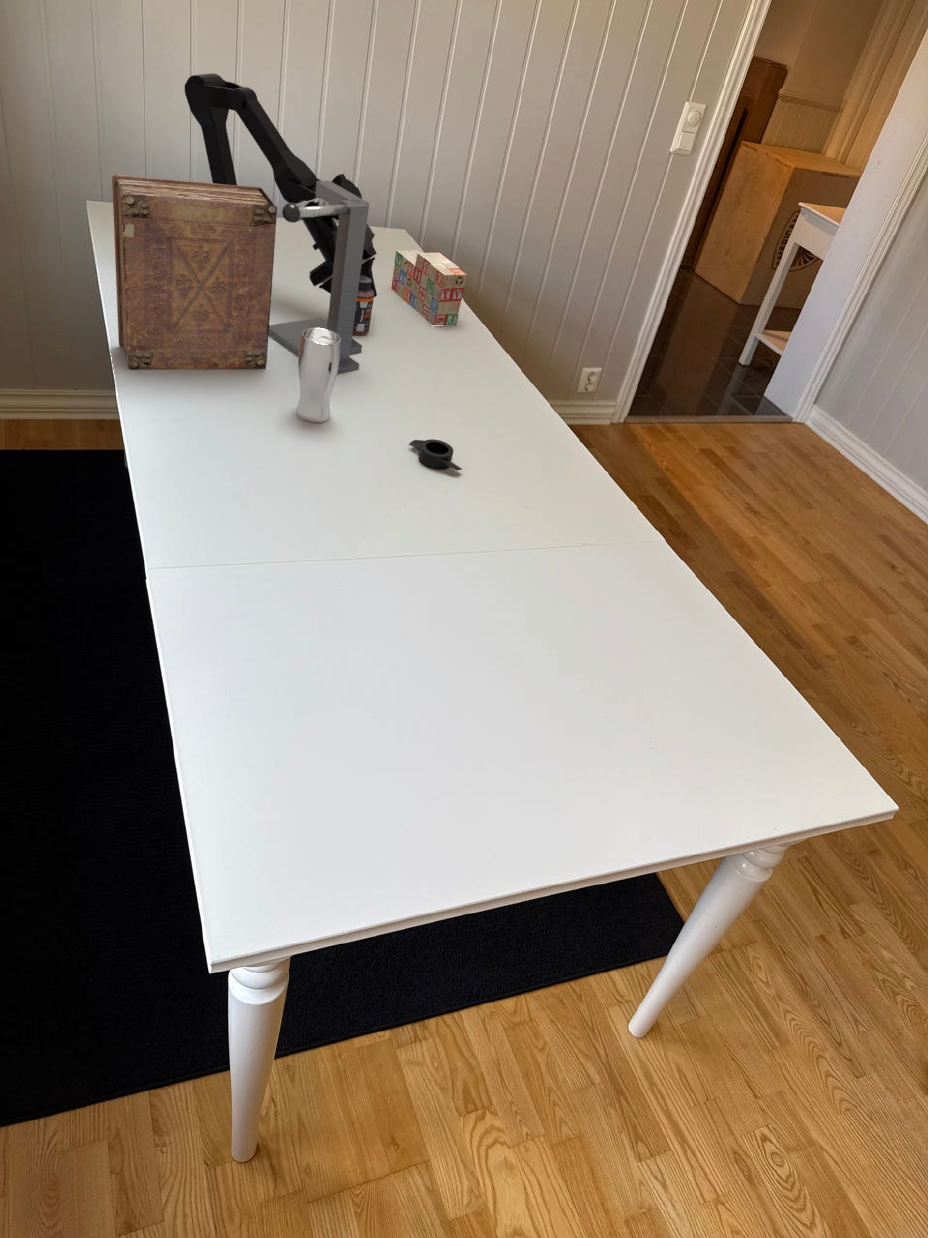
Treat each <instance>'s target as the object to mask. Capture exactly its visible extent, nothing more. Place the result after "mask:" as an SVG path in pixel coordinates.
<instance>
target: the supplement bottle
mask: <svg viewBox="0 0 928 1238" xmlns="http://www.w3.org/2000/svg"><path fill="white" fill-rule="evenodd" d="M374 298H375V297H374V292H373V290H372V289H371V279H370V278H368V277H366V276H362V275H360V279H359V287H358V295H357V303H356V311H355V318H354V326H353V334H352V335H355V336H364V335H367V334H368V333H369V332H370V327H371V326H370V325H371V319H372V313H373V312H372V311H373V307H374Z"/></svg>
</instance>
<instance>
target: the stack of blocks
mask: <svg viewBox="0 0 928 1238" xmlns="http://www.w3.org/2000/svg"><path fill="white" fill-rule="evenodd" d="M467 276H468V274H467V273H465V272H464V271H463V270H462V269H460V267H459V266H458V265H456V263H454V262H452V261H451V260H450V259H449V258H447V257H446V256H444V255H443V254H441V252H421V251H419V250H412V249H411V250H396V251H395V257H394V265H393V274H392V280H391V290H393V291H394V292H395V293H396V294H397V295H398V296H399V297H400V298H401V299H402V300H404V301H405V303H407V304H408V305H409V306H410V307H411V306H412V307H411V308H412V309H414V310H415V311H416V312H417V313H418V312H419V315H420V314H421V315H422V316H423V317H424V318H423V317H422V316H421V315H420V316H421V317H422V318H423V319H425V320H426V322H428V323H429V322H430V323H429V324H430V325H431V324H432V325H457V322H458V317H459V313H460V309H461V308H460V307H461V303H462V299H463V295H464V290H465V285H466V283H467V282H466V281H467ZM432 325H431V326H432Z"/></svg>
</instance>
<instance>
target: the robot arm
mask: <svg viewBox="0 0 928 1238" xmlns="http://www.w3.org/2000/svg"><path fill="white" fill-rule="evenodd" d="M184 94H185V97H186V100H187V103H188V107H189V110H190V113H191V114H192V115H193V117H194V118H195V120H196V121H197V123H198V125H199V126H200V129H201V132H202V137H203V141H204V147H205V151H206V157H207V161H208V168H209V173H210V178H211V181H212V182H211V183H213V184H225V185H236V186H238V183H237V178H236V172H235V167H234V161H233V155H232V151H231V146H230V139H229V134H228V129H227V120H228V117H229V116H228V115H229V112H230V111H231V110H232V111H235V113H236V114H237V115H238V117H239V118H240V120H241V122H242V124H243V125H244V126H245V128H246V129H247V131H248V132H249V134H250V135H251V136H252V137H251V138H253V140H254V141H255V143H256V145H257V146H258V148H259V149H260V150H261V152H262V153H263V155H264V157H265V158H266V160H267V161H268V163H269V165H270V167H271V170H272V173H273V179H274V180H273V181H274V182H275V184H276V186H277V189H278V191H279V193H280V195H281V197H282V198H283V199H284V201H285V202H286V203H287V204H288V203H294V204H296V205H297V204H300V203H303V202H308V203H306V204H305V205H304V206H303V207H310V206H319V200H318V201H317V202H316V201H313V200H316V199H319V197H318V196H316V195H315V194H316V183H317V181H322V180H321V179H320V178H318V177H317V175H316V174H315V173H314V171H312V170H311V167H309V165H307V164H306V163H305V161H304V160H302V159H301V158H299V157H298V156H296V155H295V154H294V153H293V152H292V151H291V149H290V148H289V146H288V145H287V143H286V142H285V140H284V138H283V137H282V134H280V132H279V130H278V129H277V128H276V126H275V124H274V123H273V122H272V120H271V118H270V116H269V115H268V113H267V112H266V110H265V109H264V107H263V106H262V104H261V103H260V101H259V99H258V96H257V94H256V92H255V91H254V89H252V88H251V87H246V86H242V85H239V84H238V83H235V82H231V81H228V80H225V79H223V77H222V76H221V75H219V74H217V73H205V74H204V73H202V74H193V75H191V76H190V77H188V78H187V80H186V82H185V83H184ZM330 181H331V182H333V183H335V184H336V185H338V186H340V187H342V188H343V189H345V190H347V191H349V192H350V193H352V194H354V195H356V196H357V197H359V198H361V199H363V196H362V193H361V191H360V189H359V187H357V186H356V185H355V184H354V182H353V181H351V179H347V178H346V176H345V174H344V173H341V174H337V175H335V177H334V178H333V179H332V180H330ZM298 207H301V206H300V205H299V206H298ZM300 221H302V222H303V224H304V226H305V227H306V229H307V230H308V233H309V234H310V236H311V237H312V239H313V241H314V244H313V245H312V248H313V250H314V251H316V250H319V252H320V254H321V255H322V257H323V259H324V261H323V262H322V263H319V265H318V266H316V267H314V268H313V269H312V270H310V271H309V277H308V278H309V280H310V282H311V284H312V285H313V287H316V286H318V285H319V286H318V288H319V289H322V290H324V291H325V292H327V293H329V294H330V295H331V286H332V277H333V268H334V259H335V249H336V240H337V231H338V224H337V222H336V221H339V215H331V216H316V217H300V218H299V219H298V220H297V221H296V222H293V223H298V222H300ZM375 235H376V234H375V233H374V232H373V230H372V228H371V227H370V226H369V224H368V223H367V225H366V233H365V241H364V248H363V256H362V264H361V272H360V275H362V276H366V277H368V278H370V279H371V289H372V290H373V292H374V298H375V297H377V296H378V293H377V289H376V284H375V280H374V274H373V270H372V269H373V264H374V261H375V260H376V256H375V255H377V254H378V253H377V250H376V249H375V247H374V243H373V239H374V237H375Z"/></svg>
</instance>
